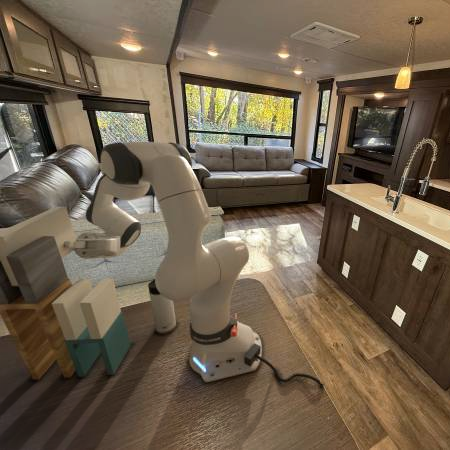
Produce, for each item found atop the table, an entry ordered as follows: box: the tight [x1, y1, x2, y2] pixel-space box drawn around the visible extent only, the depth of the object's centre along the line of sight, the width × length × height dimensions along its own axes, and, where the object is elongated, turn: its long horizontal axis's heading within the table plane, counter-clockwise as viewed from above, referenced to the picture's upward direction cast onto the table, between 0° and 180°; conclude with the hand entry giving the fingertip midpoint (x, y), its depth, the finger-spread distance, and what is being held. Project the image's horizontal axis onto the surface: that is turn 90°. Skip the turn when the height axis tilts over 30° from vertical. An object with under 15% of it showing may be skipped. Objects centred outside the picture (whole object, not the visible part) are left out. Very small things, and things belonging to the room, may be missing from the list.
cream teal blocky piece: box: [52, 277, 132, 377], centre depth 69 cm, size 9×10×26 cm
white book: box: [0, 206, 77, 286], centre depth 64 cm, size 2×19×13 cm, turn 8°
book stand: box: [0, 236, 76, 380], centre depth 65 cm, size 9×10×39 cm
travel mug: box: [147, 278, 177, 335], centre depth 83 cm, size 6×7×20 cm
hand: (59, 244), depth 69 cm, fingers closed on white book, 2 cm apart
